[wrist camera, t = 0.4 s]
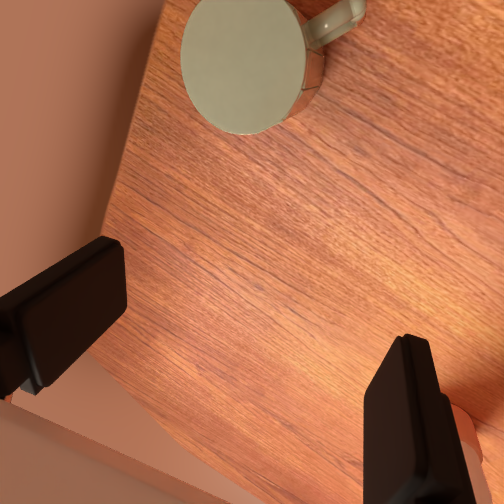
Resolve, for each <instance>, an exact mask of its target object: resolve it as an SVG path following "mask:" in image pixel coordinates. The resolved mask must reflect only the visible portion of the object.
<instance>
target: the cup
mask: <svg viewBox="0 0 504 504" xmlns="http://www.w3.org/2000/svg"><path fill="white" fill-rule="evenodd" d="M365 18H366V0H340V1H339V2H337V3H336V4H334V5H332V6H331V7H329V8H328V9H326V10H324V11H323V12H321V13H320V14H318V15H316V16H315V17H313V18H312V19H310V20H307V19H306V18H305V17H304V16H303V15H302V14H301V13H300V12H299V11H298V10H297V9H296V8H295V7H294V6H292V5H291V4H290V3H289V2H288V1H286V0H201V1H200V2H199V3H198V4H197V6H196V7H195V9H194V10H193V12H192V13H191V15H190V17H189V20H188V22H187V24H186V27H185V30H184V33H183V38H182V43H181V71H182V76H183V81H184V84H185V87H186V90H187V92H188V95H189V97H190V99H191V101H192V102H193V104H194V106H195V107H196V109H197V110H198V111H199V112H200V114H201V115H202V116H203V117H204V118H205V119H206V120H207V121H208V122H210V123H211V124H212V125H214V126H215V127H217V128H219V129H221V130H223V131H226V132H229V133H232V134H237V135H249V134H258V133H260V132H262V131H264V130H267V129H269V128H271V127H273V126H275V125H277V124H279V123H281V122H283V121H284V120H286V119H288V118H290V117H292V116H293V115H295V114H297V113H299V112H301V111H302V110H304V109H305V108H306V107H307V105H308V104H309V102H310V101H311V100H312V98H313V97H314V95H315V94H316V92H317V91H318V90H319V88H320V87H319V85H321V81H322V74H323V68H324V61H325V57H323V56H325V54H324V51H323V48H322V46H324V45H326V44H328V43H329V42H331V41H333V40H335V39H336V38H338V37H340V36H342V35H343V34H345V33H347V32H349V31H350V30H352V29H354V28H356V27H357V26H359V25H361V24H362V23H363V22H364V20H365Z"/></svg>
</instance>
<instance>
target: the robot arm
mask: <svg viewBox="0 0 504 504" xmlns="http://www.w3.org/2000/svg"><path fill="white" fill-rule="evenodd" d="M126 308H127V292H126V276H125V261H124V249H123V247H122V246H121V244H120V242H119V241H118V240H115V239H112V238H109V237H105V236H100V237H98V238H97V239H95V240H94V241H92V242H90V243H88V244H87V245H85V246H84V247H82V248H80V249H79V250H77V251H75V252H74V253H72V254H70V255H69V256H67V257H66V258H64V259H62V260H61V261H59V262H57V263H56V264H54V265H53V266H51V267H49V268H48V269H46V270H44V271H43V272H41V273H39V274H38V275H36V276H34V277H33V278H31V279H30V280H28V281H26V282H25V283H23V284H22V285H20V286H18V287H16V288H15V289H13V290H12V291H10V292H8V293H7V294H5V295H3V296H2V297H0V504H231V503H229V502H227V501H225V500H222V499H220V498H218V497H216V496H213V495H212V494H209V493H207V492H205V491H203V490H201V489H199V488H196V487H194V486H192V485H190V484H188V483H186V482H183V481H181V480H179V479H177V478H175V477H172V476H170V475H168V474H165V473H164V472H161V471H159V470H157V469H155V468H153V467H150V466H148V465H146V464H144V463H142V462H139V461H137V460H135V459H133V458H131V457H128V456H126V455H124V454H122V453H120V452H118V451H115V450H113V449H111V448H109V447H107V446H104V445H102V444H100V443H98V442H96V441H93V440H91V439H89V438H87V437H85V436H82V435H80V434H78V433H75V432H73V431H71V430H69V429H66V428H64V427H62V426H60V425H58V424H55V423H53V422H51V421H49V420H47V419H44V418H42V417H40V416H38V415H35V414H33V413H31V412H29V411H27V410H24V409H22V408H20V407H18V406H15V405H13V404H11V400H12V395H13V392H14V391H15V390H16V389H17V388H18V387H19V386H20V388H21V390H24V391H26V392H28V393H31V394H33V395H37V394H38V393H39V392H40V391H41V390H42V389H43V388H44V387H48V386H50V385H51V384H53V382H54V381H55V380H57V379H58V378H59V376H61V375H62V374H63V373H64V372H65V371H66V370H67V369H68V368H69V367H70V366H71V365H72V364H73V363H74V362H75V361H76V360H77V359H78V358H79V357H80V356H81V355H82V354H83V353H84V352H85V351H86V350H87V349H88V348H89V347H90V346H91V345H92V344H93V343H94V342H95V341H96V340H97V339H98V338H99V337H100V336H101V335H102V334H103V333H104V332H105V331H106V330H107V329H108V328H109V327H110V326H111V325H112V324H113V323H114V322H115V321H116V320H117V319H118V318H119V317H120V316H121V315H122V314H123V313H124V312H125V310H126ZM363 504H477V503H476V499H475V495H474V491H473V487H472V484H471V480H470V476H469V472H468V468H467V464H466V461H465V457H464V453H463V449H462V445H461V441H460V438H459V434H458V430H457V426H456V422H455V418H454V415H453V411H452V407H451V403H450V401H449V398H448V397H447V395H446V394H443V393H441V392H440V388H439V383H438V379H437V375H436V371H435V367H434V362H433V358H432V354H431V350H430V346H429V342H428V341H427V340H426V339H423V338H420V337H417V336H414V335H411V334H405V335H404V336H403V337H401V336H397V337H396V339H395V340H394V342H393V344H392V345H391V347H390V349H389V351H388V353H387V354H386V356H385V358H384V360H383V361H382V363H381V365H380V367H379V368H378V370H377V372H376V374H375V376H374V377H373V379H372V381H371V383H370V384H369V386H368V388H367V390H366V392H365V396H364V441H363Z"/></svg>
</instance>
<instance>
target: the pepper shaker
mask: <svg viewBox="0 0 504 504" xmlns="http://www.w3.org/2000/svg"><path fill="white" fill-rule="evenodd" d="M451 407H452V411H453V415H454V418H455V422H456V426H457V430H458V434H459V438H460V441H461V445H462V449H463V453H464V457H465V461H466V464H467V468H468V472H469V476H470V480H471V484H472V487H473V491H474V495H475V499H476V503H477V504H493V503H492V496H491V493H490V490H489V487H488V484H487V481H486V478H485V475H484V472H483V469H482V466H481V464H482V461H483V456H482V450H481V447H480V444H479V441H478V437H477V434H476V431H475V428H474V425H473V421H472V420H471V418H470V417H469V415H468V414H467V413H466V412H465V411H464V410H462V409H461V408H460V407H458V406H455V405H453V404H451Z"/></svg>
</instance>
